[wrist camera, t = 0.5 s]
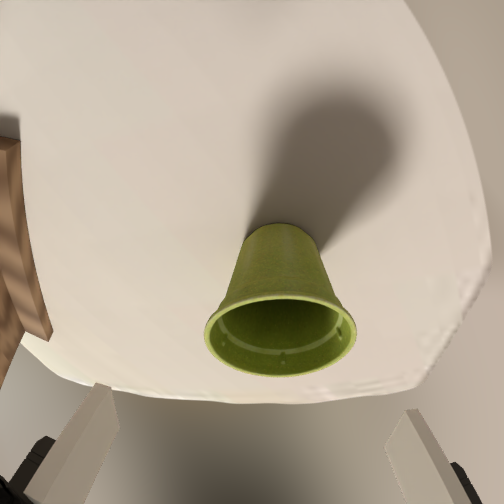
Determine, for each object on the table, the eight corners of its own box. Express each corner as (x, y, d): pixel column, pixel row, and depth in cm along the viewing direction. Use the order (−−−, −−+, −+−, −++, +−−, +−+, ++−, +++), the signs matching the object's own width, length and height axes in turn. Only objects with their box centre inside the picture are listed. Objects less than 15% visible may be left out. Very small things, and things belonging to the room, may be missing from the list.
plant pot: (230, 294, 28) (221, 378, 21) (208, 208, 21) (184, 300, 15) (331, 287, 27) (345, 372, 20) (338, 198, 20) (369, 289, 14)
